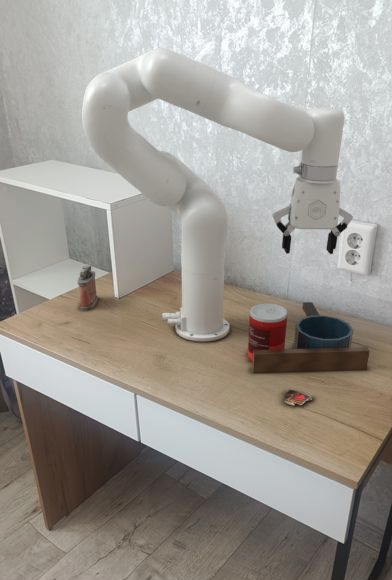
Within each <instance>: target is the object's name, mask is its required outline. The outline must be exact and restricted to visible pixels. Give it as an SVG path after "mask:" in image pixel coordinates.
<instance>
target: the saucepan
mask: <svg viewBox="0 0 392 580" xmlns="http://www.w3.org/2000/svg"><path fill="white" fill-rule="evenodd" d="M301 309H302V310H303V312H304V315H305V317H302V318H300V319H298V321H297V322H296V324H295V328H294V339H293V340H294V341H293V349H314V348H352V341H353V337H354V336H353V334H354V328H353V327H352V325H351V324H350V322H347V321H345V320H344V319H341V318H339V317H336V316H331V315H324V314H323V315H321V314H320V313H319V311H318V310H317V308H316V306H315V305H314V303H313V301H310V302H309V301H308V302H306V301H304V302H302V308H301Z"/></svg>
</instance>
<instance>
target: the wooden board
mask: <svg viewBox="0 0 392 580" xmlns="http://www.w3.org/2000/svg"><path fill="white" fill-rule="evenodd" d="M370 351H371V350H370V349H369V348H368V347H367V346H360V347H359V346H358V347H357V346H355V347H354V346H353V347H352V346H351V348H314V349H294V348H284V349H277V350H253V362H251V363H252V364H251V370H252V373H253V374H260V373H261V374H264V373H266V374H267V373H295V372H298V373H299V372H300V373H301V372H329V371H330V372H331V371H334V372H335V371H337V372H338V371H366V370H367V367H368V363H369V357H370Z"/></svg>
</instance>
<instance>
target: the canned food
mask: <svg viewBox="0 0 392 580" xmlns="http://www.w3.org/2000/svg"><path fill="white" fill-rule="evenodd" d="M248 320H249V321H248V337H247V339H248V340H247V356H248V360H249V361H250V362H251V363H252V362H253V350H277V349H285V344H286V335H287V324H288V310H287V309H286V308H285V307H284V306H282V305H280V304H276V303H259V304H256V305H253V306H252V307H250V311H249V319H248Z"/></svg>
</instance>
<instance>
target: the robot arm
mask: <svg viewBox="0 0 392 580" xmlns="http://www.w3.org/2000/svg"><path fill="white" fill-rule="evenodd" d="M156 100H161V101H163V102H165V103H168V104H169V105H173V106H175V107H177V108H180V109H183V110H186V111H188V112H190V113H193V114H195V115H197V116H199V117H202V118H204V119H206V120H209V121H211V122H213V123H216V124H218V125H220V126H222V127H224V128H228V129H232V130H235V131H237V132H240V133H242V134H244V135H246V136H249V137H252V138H253V139H256V140H259V141H261V142H263V143H265V144H268V145H270V146H273V147H275V148H278V149H280V150H282V151H285V152H288V153H297V152H300V151H301V159H300V162H299V165H297V166H293V167H292V168H293V169H292V173H293V174H297V175H298V176H299V177H296V178H295V180H294V184H293V188H292V192H291V195H290V201H289V205H287V206H285V207H282V208H281V209H278V210H276V211H275V212H273V213H272V218H273V221H274V223H275V224H276V227H277V228H278V230H279V231H280V232H281V233H282V242H281V248H282V250H283V251H284V252H285V254H286V255H288V254H290V253H291V245H292V235H291V233H292V232H294V230H295V229H297V230H330V232H329V233H328V235H327V241H326V251H327V253H328V254H329V255H333V254H334V250H336V249H337V243H338V237H339V236H341V234H342V233H343V232H344V231H345V230H346V229H348V225H349V224H350V223H351V221H352V220H353V219H354V216H353V215H352V214H351V213H350V212H348V211H346V210H345V209H343V208H341V207H340V206H341V205H340V204H341V181H340V180H339V179H337V174H338V168H339V167H338V166H339V160H340V152H341V147H342V140H343V139H342V138H343V132H344V125H345V113H344V111H343V110H342V109H340V108H335V107H322V106H321V107H312V108H309V107H308V108H307V107H300V106H293V105H289V104H288V103H285V102H283V101H280V100H278V99H275V98H274V97H272V96H269V95H267V94H265V93H263V92H261V91H258V90H257V89H254V88H253V87H250V86H249V85H247V84H246V83H244V82H242V81H241V80H239V79H237V78H235V77H233V76H231V75H229V74H227V73H225V72H222V71H220V70H217V69H215V68H212V67H211V66H208V65H206V64H204V63H201V62H199V61H197V60H195V59H192V58H190V57H187V56H185V55H183V54H181V53H179V52H177V51H174V50H171V49H169V48H164V47H157V48H154V49H151V50H149V51H147V52H145V53H144V54H142V55H140V56H137V57H135V58H133V59H131V60H128V61H126V62H124V63H122V64H119V65H117V66H115V67H113V68H110V69H108V70H105V71H102V72H101V73H99V74H97V75H96V76H94V77H93V78H92V80H90V81H89V83H88V84H87V86H86V88H85V90H84V94H83V98H82V107H81V124H82V128H83V133H84V135H85V138H86V141H87V143H88V144H89V146H90V147H91V149H92V150H93V152H94V153H95V154H96V155H97V156H98V157H99V158H100V159H101V160H102V161H103V162H104V163H106V165H108V166H109V167H110V168H111V169H112V170H114V172H116V173H117V174H119V175H120V176H121V177H122V179H124V180H125V181H127V182H128V183H129V184H130V185H131V186H132V187H134V188H135V189H136V190H137V191H138V192H140V193H141V194H142V195H143V196H144V197H145V198H147V199H148V200H149V201H150V202H152V203H153V204H155V205H157V206H161V207H167V208H168V209H170V210H171V211H172V212H173V213H175V214H176V215H177V216H178V217H179V219H180V225H181V245H180V267H181V307H180V308H179V311H175V312H162V314H161V315H162V322H167V325H168V326H173V325H175V332H176V334H177V335H178V336H179V337H181V338H183V339H185V340H187V341H188V340H189V341H193V342H199V343H200V342H202V343H204V342H205V343H207V342H213V341H217V340H220V339H222V338H225V337H226V336H227V335H228V334H229V333H230V330H231V329H230V323H229V322H228V320H226V319H225V318H224V301H225V299H224V297H225V296H224V295H225V265H226V263H225V262H226V245H227V237H228V227H229V218H228V212H227V208H226V206H225V204H224V203H223V201H222V199H221V198H220V196H219V195H218V193H217V192H216V191H215V189H214V188H213V187H212V186H211V185H210V184H208V183H207V182H206V181H205V180H204V179H203V178H201V177H200V176H199V175H198V174H196V172H194V171H193V170H192V169H191V168H190V167H188V165H186V164H185V163H184V162H183V161H182V160H180V159H179V158H178V157H176V156H175V155H174V154H172V153H171V152H169V151H164V150H159V149H157V148H156V147H155V146H154V145H153V144H151V142H150V141H148V140H147V139H146V138H145V137H144V136H142V134H140V133H139V132H138V131H136V129H134V128H133V126H132V125H131V123H130V121H129V119H128V116H129V115H128V114H129V112H131V111H133V110H136V109H138V108H141V107H143V106H145V105H147V104H150V103H152V102H154V101H156ZM286 216H287V220H288V222H287V223H286V224H284V223H283V222H282V218H283V217H286ZM340 217H342V218H343V219H342V221H340V222H339V218H340Z"/></svg>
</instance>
